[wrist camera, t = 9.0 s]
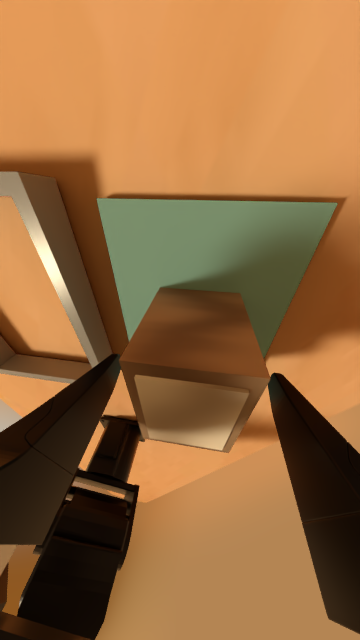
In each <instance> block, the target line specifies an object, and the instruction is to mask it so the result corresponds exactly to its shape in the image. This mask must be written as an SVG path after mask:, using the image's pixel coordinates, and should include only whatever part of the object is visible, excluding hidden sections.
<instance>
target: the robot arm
mask: <svg viewBox="0 0 360 640" xmlns="http://www.w3.org/2000/svg"><path fill="white" fill-rule="evenodd" d="M119 359H120V355H119V354H115V353H113V354H111V355H109V356H108V357H107V358H105V359H104V360H103V361H101V362H100V363H99V364H97V365H96V366H94V367H93V368H92V369H90V370H89V371H88V372H86V373H85V374H84V375H82V376H81V377H79V378H78V379H77V380H75V381H74V382H73V383H71V384H70V385H69V386H67V387H66V388H64V389H63V390H62V391H60V392H59V393H58V394H56V395H55V397H52V398H51V399H49V400H48V401H47V402H45V403H44V404H42V405H41V406H40V407H38V408H37V409H35V410H34V411H32V412H31V413H29V414H28V415H26V416H25V417H23V418H22V419H20V420H19V421H17V422H16V423H14V424H13V425H11V426H9V427H8V428H6V429H5V430H3V431H2V432H0V640H95V638H96V636H97V634H98V632H99V630H100V628H101V626H102V624H103V622H104V619H105V615H106V611H107V607H108V602H109V598H110V594H111V590H112V587H113V583H114V579H115V576H116V572H117V571H119V570H120V569H121V567H122V565H123V563H124V560H125V557H126V554H127V550H128V546H129V542H130V537H131V532H132V526H133V520H134V514H135V508H136V503H137V497H138V491H139V485H132V484H128V483H127V481H128V477H129V474H130V470H131V467H132V463H133V460H134V457H135V453H136V450H137V446H138V443H139V441H142V442H145V439H144V438H143V436H142V433H141V430H140V427H139V423H138V422H134V421H127V420H121V419H115V418H109V417H103V416H102V414H103V412H104V410H105V407H106V405H107V403H108V401H109V399H110V397H111V395H112V392H113V390H114V387H115V385H116V382H117V379H118V376H119V373H120V370H121V366H120V363H119ZM270 378H271V379H270V381H269V383H268V389H269V396H270V402H271V408H272V413H273V418H274V421H275V425H276V429H277V432H278V436H279V440H280V443H281V447H282V451H283V454H284V458H285V461H286V465H287V469H288V473H289V476H290V480H291V484H292V487H293V491H294V495H295V499H296V502H297V506H298V510H299V513H300V517H301V520H302V522H303V523H302V525H303V528H304V532H305V536H306V539H307V542H308V547H309V550H310V554H311V558H312V561H313V565H314V569H315V573H316V576H317V580H318V583H319V587H320V591H321V595H322V598H323V602H324V605H325V609H326V613H327V616H328V618H329V619H330V620H332V621H334V622H336V623H338V624H340V625H342V626H344V627H346V628H348V629H350V630H352V631H354V632H356V633H358V634H360V454H359V453H358V452H357V451H356V450H355V449H354V448H353V447H352V446H351V444H349V443H348V442H347V441H346V439H345V438H343V436H342V435H340V433H339V432H338V431H337V430H336V429H335V428H334V427H333V426H332V425H331V424H330V423H329V422H328V421H327V420H326V419H325V418H324V417H323V416H322V415H321V414H320V413H319V412H318V411H317V410H316V409H315V408H314V407H313V405H312V404H311V403H310V402H309V401H308V400H307V399H306V398H305V397H304V396H303V395H302V394H301V393H300V392H299V391H298V390H297V389H296V388H295V387H294V386H293V385H292V384H291V383H290V382H289V381H288V380H287V379H286V378H285V377H284V376H283V375H282V374H280V373H273V374H272V375H271V377H270ZM101 416H102V417H101ZM99 420H100V422H101V423H102V425H103V427H104V428H105V429H104V432H103V434H102V436H101V438H100V440H99V442H98V445H97V447H96V449H95V451H94V453H93V456H92V458H91V460H90V462H89V464H88V467H87V469H86V471H83V470H79V468H78V466H79V464H80V461H81V459H82V457H83V455H84V453H85V451H86V448H87V446H88V444H89V442H90V440H91V438H92V435H93V433H94V431H95V429H96V427H97V425H98V423H99ZM74 481H77V482H80V483H84V484H88V485H91V486H95V487H99V488H102V489H106V490H109V491H113V492H117V493H120V494H124V495H125V497H124V499H120V498H117V497H113V496H109V495H106V494H102V493H98V492H95V491H91V490H87V489H83V488H80V487H76V486H72V485H73V482H74ZM66 498H70V499H72V500H71V501H69V500H65V499H66ZM17 545H36V547H35V549H34V551H33V554H36V555H40V557H39V559H38V561H37V563H36V565H35V567H34V569H33V572H32V574H31V576H30V578H29V580H28V582H27V584H26V586H25V588H24V590H23V593H22V595H21V599H20V604H19V609H18V614H17V616H14V615H11V614H8V613H4V612H2V610H3V608H4V606H5V604H6V602H7V582H8V581H7V580H8V561H9V559H10V557H11V556H12V554H13V552H14V550H15V549H16V547H17Z"/></svg>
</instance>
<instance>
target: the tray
mask: <svg viewBox="0 0 360 640" xmlns="http://www.w3.org/2000/svg"><path fill="white" fill-rule="evenodd" d="M0 197H12V198H13V200H14V203H15V205H16V207H17V209H18V211H19V213H20V215H21V217H22V220H23V222H24V224H25V226H26V228H27V230H28V232H29V234H30V237H31V239H32V241H33V243H34V245H35V247H36V249H37V251H38V254H39V256H40V258H41V260H42V262H43V264H44V266H45V268H46V271H47V273H48V275H49V277H50V279H51V281H52V283H53V285H54V288H55V290H56V292H57V294H58V296H59V298H60V300H61V302H62V305H63V307H64V309H65V311H66V313H67V315H68V317H69V320H70V322H71V324H72V326H73V328H74V330H75V332H76V334H77V337H78V339H79V341H80V343H81V345H82V347H83V349H84V351H85V354H86V356H87V358H88V360H89V362H90V363H82V362H74V361H67V360H59V359H51V358H43V357H36V356H28V355H20V354H15V352H14V351H13V350H12V349H11V348H10V346H9V345H8V344H7V343H6V342H5V340H4V339H3V338H2V337H1V336H0V373H1V374H8V375H15V376H22V377H29V378H36V379H43V380H49V381H56V382H63V383H70V384H71V383H73V382H74V381H75V380H77V379H78V378H79V377H81V376H82V375H84V374H85V373H86V372H88V371H89V370H90V369H92V368H93V367H94V366H96V365H97V364H99V363H100V362H101V361H103V360H104V359H105V358H107V357H108V356H109V355H111V354H113V353H112V350H111V347H110V344H109V341H108V338H107V335H106V332H105V329H104V326H103V323H102V320H101V316H100V313H99V310H98V307H97V304H96V301H95V298H94V295H93V292H92V289H91V286H90V283H89V280H88V277H87V274H86V271H85V268H84V265H83V262H82V259H81V256H80V253H79V249H78V246H77V243H76V240H75V237H74V234H73V231H72V228H71V225H70V222H69V219H68V216H67V213H66V210H65V207H64V204H63V201H62V198H61V195H60V192H59V189H58V186H57V183H56V179H55V178H53V177H47V176H41V175H35V174H29V173H22V172H0Z"/></svg>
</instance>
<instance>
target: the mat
mask: <svg viewBox="0 0 360 640" xmlns="http://www.w3.org/2000/svg"><path fill="white" fill-rule="evenodd" d="M96 199H97V203H98V208H99V212H100V217H101V221H102V225H103V230H104V234H105V238H106V243H107V247H108V252H109V256H110V260H111V265H112V269H113V273H114V278H115V282H116V287H117V291H118V295H119V300H120V304H121V308H122V313H123V317H124V322H125V326H126V330H127V335H128V339H129V341H130V339H131V338H132V336H133V334H134V332H135V331H136V329H137V327H138V325H139V324H140V322H141V320H142V318H143V316H144V315H145V313H146V311H147V309H148V308H149V306H150V304H151V302H152V301H153V299H154V297H155V295H156V293H157V292H158V290H159V288H175V289H189V290H203V291H217V292H231V293H240V294H241V297H242V300H243V302H244V305H245V308H246V311H247V314H248V316H249V319H250V322H251V325H252V328H253V331H254V333H255V336H256V339H257V342H258V345H259V347H260V350H261V353H262V356H263V359H264V358H265V355H266V353H267V351H268V349H269V347H270V345H271V343H272V341H273V339H274V337H275V334H276V332H277V330H278V328H279V326H280V324H281V322H282V320H283V318H284V315H285V313H286V311H287V309H288V307H289V305H290V303H291V301H292V299H293V296H294V294H295V292H296V290H297V288H298V286H299V284H300V282H301V280H302V278H303V275H304V273H305V271H306V269H307V267H308V265H309V263H310V261H311V259H312V256H313V254H314V252H315V250H316V248H317V246H318V244H319V242H320V240H321V237H322V235H323V233H324V231H325V229H326V227H327V225H328V223H329V221H330V219H331V216H332V214H333V212H334V210H335V208H336V206H337V204H338V203H324V202H270V201H216V200H162V199H107V198H96Z"/></svg>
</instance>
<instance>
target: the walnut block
mask: <svg viewBox="0 0 360 640" xmlns="http://www.w3.org/2000/svg"><path fill="white" fill-rule="evenodd" d="M119 363H120V366H121V369H122V372H123V376H124V379H125V382H126V385H127V388H128V392H129V395H130V398H131V401H132V404H133V407H134V411H135V414H136V417H137V420H138V423H139V427H140V430H141V433H142V436H143V438H144V439H150V440H156V441H162V442H167V443H173V444H179V445H185V446H191V447H196V448H202V449H208V450H214V451H220V452H226V453H229V452H230V450H231V448H232V447H233V445H234V443H235V441H236V439H237V438H238V436H239V434H240V432H241V431H242V429H243V427H244V425H245V424H246V422H247V420H248V418H249V416H250V415H251V413H252V411H253V409H254V408H255V406H256V404H257V402H258V401H259V399H260V397H261V395H262V393H263V392H264V390H265V388H266V386H267V385H268V383H269V381H270V379H271V378H270V376H269V373H268V370H267V367H266V364H265V361H264V359H263V356H262V353H261V350H260V347H259V345H258V342H257V339H256V336H255V333H254V331H253V328H252V325H251V322H250V319H249V316H248V314H247V311H246V308H245V305H244V302H243V300H242V297H241V294H240V293H231V292H217V291H203V290H189V289H175V288H159V290H158V292H157V293H156V295H155V297H154V299H153V301H152V302H151V304H150V306H149V308H148V309H147V311H146V313H145V315H144V316H143V318H142V320H141V322H140V324H139V325H138V327H137V329H136V331H135V332H134V334H133V336H132V338H131V339H130V341H129V343H128V345H127V347H126V348H125V350H124V352H123V354H122V355H121V357H120V359H119Z"/></svg>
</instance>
